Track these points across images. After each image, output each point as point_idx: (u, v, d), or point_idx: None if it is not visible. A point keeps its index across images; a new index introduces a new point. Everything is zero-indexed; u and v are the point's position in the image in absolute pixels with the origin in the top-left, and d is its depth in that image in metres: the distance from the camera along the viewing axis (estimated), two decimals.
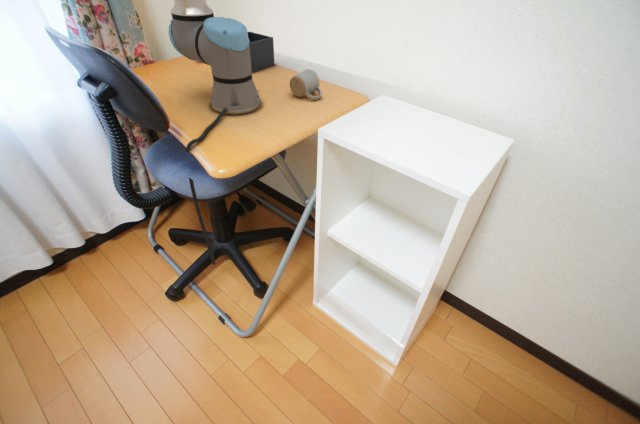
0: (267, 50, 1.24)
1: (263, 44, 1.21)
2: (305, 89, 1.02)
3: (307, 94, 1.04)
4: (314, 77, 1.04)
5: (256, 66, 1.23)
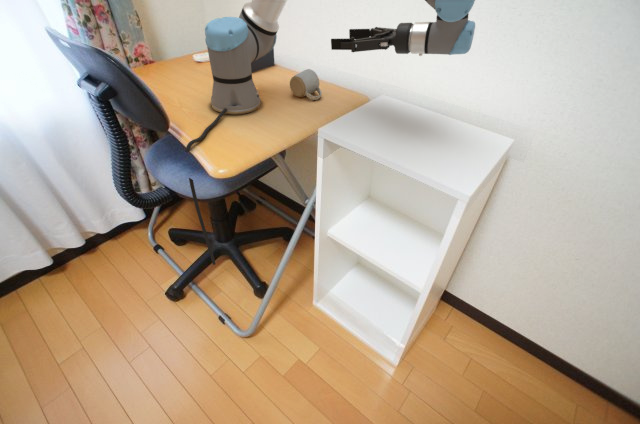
0: None
1: None
2: (305, 89, 1.02)
3: (307, 94, 1.04)
4: (314, 77, 1.04)
5: (256, 66, 1.23)
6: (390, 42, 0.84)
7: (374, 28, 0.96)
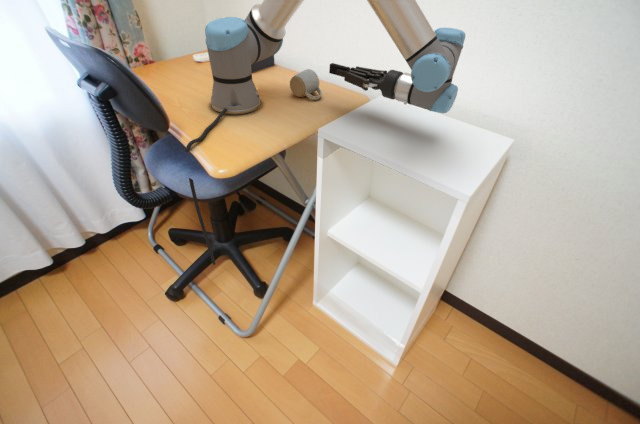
0: None
1: None
2: (305, 89, 1.02)
3: (307, 94, 1.04)
4: (314, 77, 1.04)
5: (256, 66, 1.23)
6: (378, 86, 0.87)
7: (355, 68, 0.95)
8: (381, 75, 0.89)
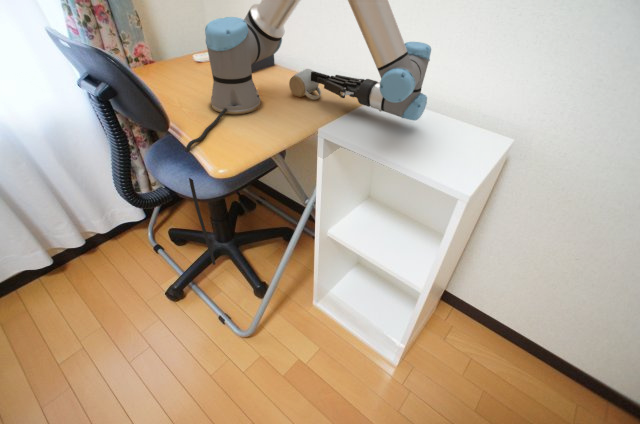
0: None
1: None
2: (304, 88, 1.03)
3: (307, 94, 1.04)
4: None
5: (256, 66, 1.23)
6: (354, 94, 0.93)
7: (335, 76, 1.00)
8: (358, 83, 0.95)
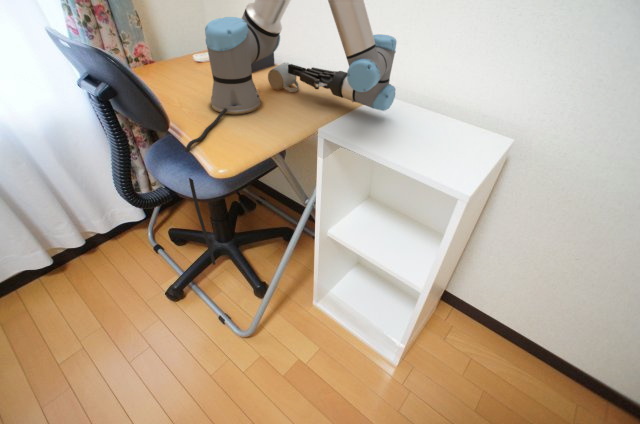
0: None
1: None
2: (282, 82, 1.07)
3: (285, 86, 1.08)
4: None
5: (256, 66, 1.23)
6: (327, 85, 0.97)
7: (311, 68, 1.04)
8: (332, 75, 0.99)
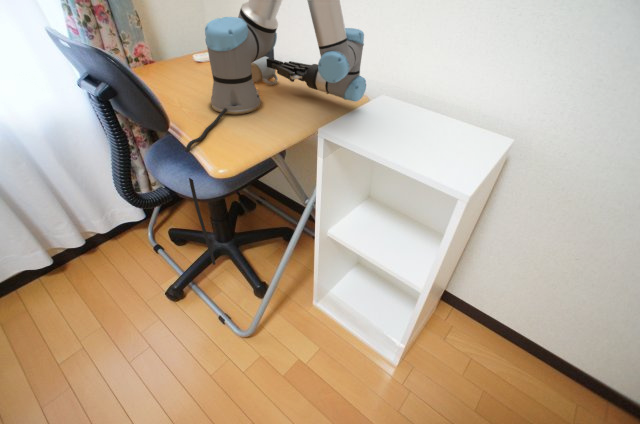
0: None
1: None
2: (261, 75, 1.11)
3: (264, 79, 1.12)
4: None
5: None
6: (302, 78, 1.01)
7: None
8: (307, 68, 1.03)
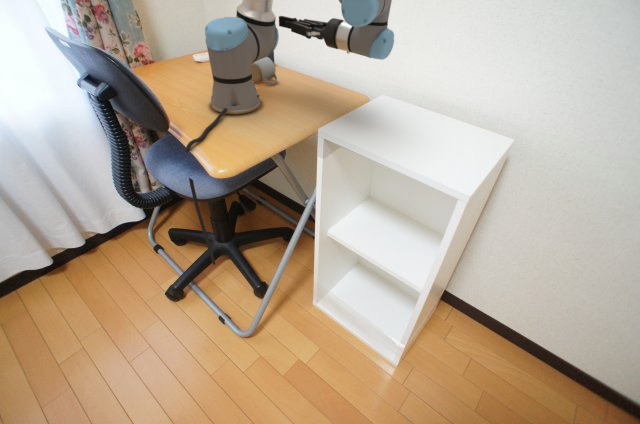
0: None
1: None
2: (261, 75, 1.11)
3: (264, 79, 1.12)
4: (270, 63, 1.13)
5: None
6: (320, 34, 0.89)
7: (303, 20, 0.97)
8: (325, 25, 0.91)
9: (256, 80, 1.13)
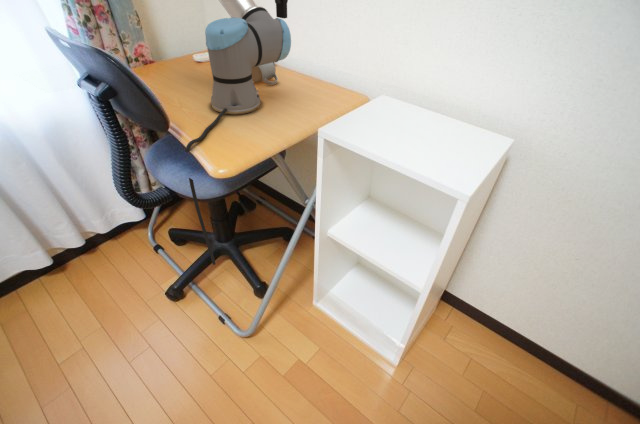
0: None
1: None
2: (261, 75, 1.11)
3: (264, 79, 1.12)
4: (270, 63, 1.13)
5: None
6: None
7: None
8: None
9: (256, 80, 1.13)
